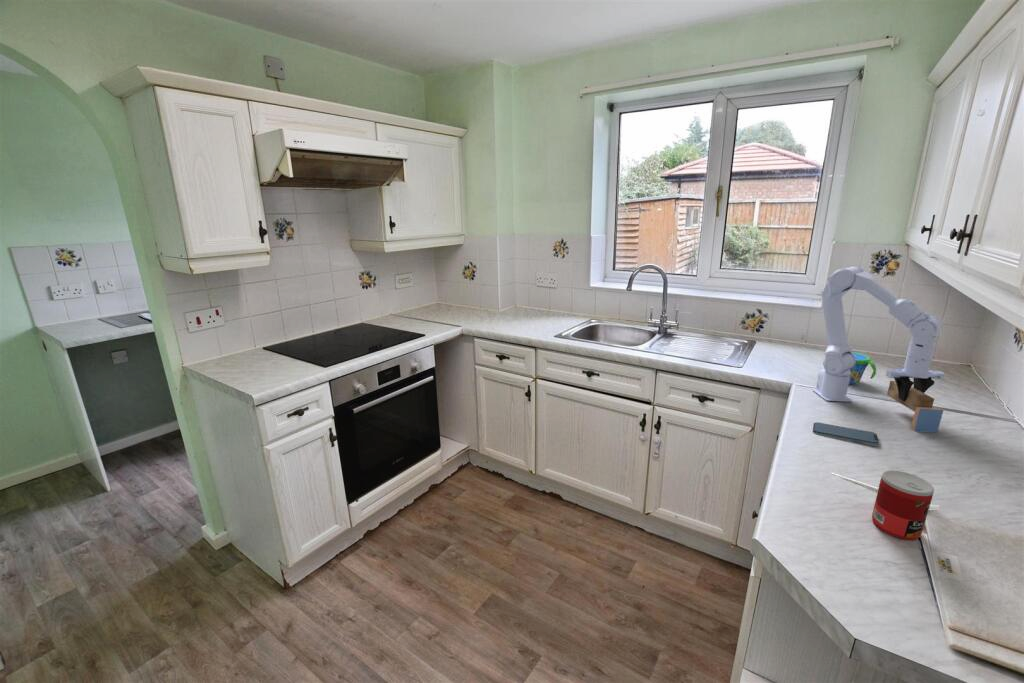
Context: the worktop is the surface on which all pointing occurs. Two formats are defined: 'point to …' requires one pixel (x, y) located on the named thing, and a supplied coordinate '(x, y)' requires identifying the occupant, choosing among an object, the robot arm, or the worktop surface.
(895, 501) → the canned food
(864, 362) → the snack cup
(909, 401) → the long wooden beam
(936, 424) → the tile
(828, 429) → the smartphone
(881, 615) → the worktop surface
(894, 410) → the worktop surface
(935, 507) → the fork
